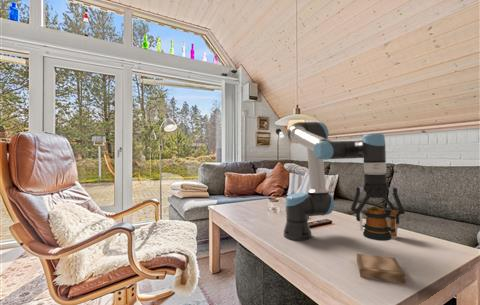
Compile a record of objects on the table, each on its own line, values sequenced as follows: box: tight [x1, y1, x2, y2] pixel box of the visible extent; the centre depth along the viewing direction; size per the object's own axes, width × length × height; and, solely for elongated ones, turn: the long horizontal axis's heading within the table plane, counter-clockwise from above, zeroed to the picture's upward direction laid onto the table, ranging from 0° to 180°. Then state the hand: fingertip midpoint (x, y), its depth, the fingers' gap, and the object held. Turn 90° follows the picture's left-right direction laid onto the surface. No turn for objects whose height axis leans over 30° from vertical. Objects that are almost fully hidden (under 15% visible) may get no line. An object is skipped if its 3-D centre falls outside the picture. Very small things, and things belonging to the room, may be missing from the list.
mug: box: [361, 206, 398, 242], centre depth 89 cm, size 13×10×12 cm
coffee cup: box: [379, 206, 399, 240], centre depth 125 cm, size 9×9×15 cm
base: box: [356, 253, 407, 284], centre depth 89 cm, size 14×14×3 cm
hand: (377, 230), depth 89 cm, fingers closed on mug, 10 cm apart
